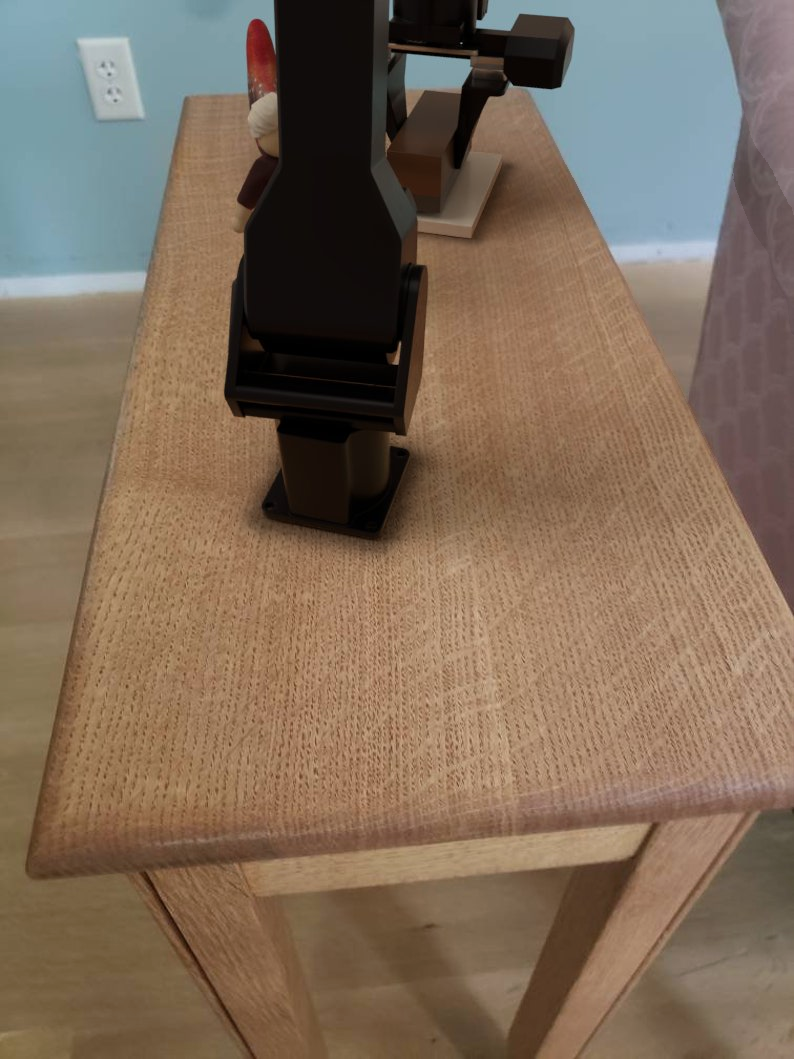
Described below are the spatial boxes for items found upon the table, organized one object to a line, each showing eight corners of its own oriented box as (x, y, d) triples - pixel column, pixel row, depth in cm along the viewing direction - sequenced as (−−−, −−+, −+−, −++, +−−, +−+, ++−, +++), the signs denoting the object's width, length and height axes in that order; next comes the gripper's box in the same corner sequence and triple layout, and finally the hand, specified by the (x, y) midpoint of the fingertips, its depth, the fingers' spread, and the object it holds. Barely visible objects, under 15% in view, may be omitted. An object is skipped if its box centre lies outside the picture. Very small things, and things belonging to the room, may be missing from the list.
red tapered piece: (286, 134, 75) (272, 7, 68) (306, 237, 64) (292, 96, 56) (253, 137, 75) (236, 9, 67) (267, 241, 63) (248, 100, 56)
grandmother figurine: (278, 320, 56) (252, 124, 47) (236, 300, 58) (203, 107, 49) (352, 269, 61) (341, 79, 51) (311, 252, 62) (293, 65, 53)
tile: (471, 239, 63) (472, 226, 62) (354, 223, 65) (354, 211, 64) (501, 166, 71) (502, 154, 70) (397, 154, 72) (397, 142, 72)
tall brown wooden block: (439, 213, 63) (441, 156, 59) (387, 206, 63) (386, 150, 60) (471, 148, 70) (474, 94, 66) (423, 143, 70) (424, 89, 67)
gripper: (599, -103, 57) (567, 133, 69) (336, -117, 61) (347, 110, 73) (578, -58, 50) (546, 197, 62) (280, -77, 54) (303, 168, 65)
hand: (431, 164), depth 66 cm, fingers closed on tall brown wooden block, 4 cm apart
